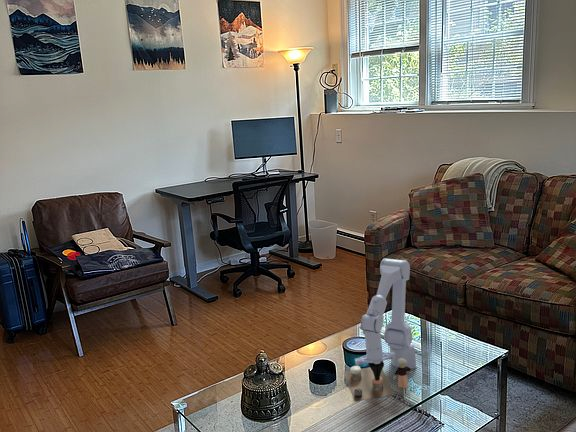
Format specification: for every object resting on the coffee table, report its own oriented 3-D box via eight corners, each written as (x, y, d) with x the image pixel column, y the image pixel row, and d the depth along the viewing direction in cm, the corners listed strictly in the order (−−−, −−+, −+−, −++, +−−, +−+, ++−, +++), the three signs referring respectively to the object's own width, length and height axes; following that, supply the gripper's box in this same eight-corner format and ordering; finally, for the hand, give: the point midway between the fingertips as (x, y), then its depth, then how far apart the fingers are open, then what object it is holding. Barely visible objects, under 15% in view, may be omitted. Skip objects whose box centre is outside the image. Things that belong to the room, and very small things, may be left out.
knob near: (381, 383, 204) (380, 375, 203) (384, 389, 200) (383, 380, 199) (371, 385, 204) (370, 376, 203) (373, 391, 200) (373, 382, 199)
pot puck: (356, 392, 201) (355, 385, 200) (363, 394, 199) (363, 386, 199) (353, 396, 198) (353, 389, 197) (360, 398, 197) (360, 391, 196)
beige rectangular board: (380, 368, 217) (379, 359, 215) (395, 397, 197) (394, 387, 196) (343, 375, 215) (342, 366, 214) (355, 404, 196) (354, 395, 195)
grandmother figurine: (399, 395, 198) (396, 364, 195) (392, 390, 202) (390, 360, 198) (416, 387, 202) (413, 357, 198) (409, 382, 205) (406, 352, 202)
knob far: (360, 373, 212) (359, 365, 211) (362, 378, 208) (361, 370, 207) (350, 374, 212) (349, 366, 211) (352, 380, 208) (351, 372, 207)
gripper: (356, 354, 193) (360, 388, 196) (396, 347, 194) (399, 381, 197) (352, 345, 200) (355, 377, 203) (390, 338, 201) (393, 371, 204)
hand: (377, 378), depth 201 cm, fingers closed
